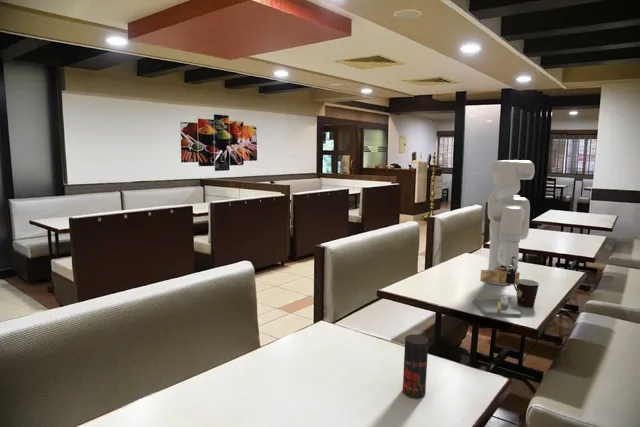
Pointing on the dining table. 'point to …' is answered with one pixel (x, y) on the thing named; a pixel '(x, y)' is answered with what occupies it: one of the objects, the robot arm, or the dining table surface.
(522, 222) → the robot arm
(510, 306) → the board
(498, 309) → the stop pin
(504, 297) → the post
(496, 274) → the tan wooden block
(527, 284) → the coffee mug
